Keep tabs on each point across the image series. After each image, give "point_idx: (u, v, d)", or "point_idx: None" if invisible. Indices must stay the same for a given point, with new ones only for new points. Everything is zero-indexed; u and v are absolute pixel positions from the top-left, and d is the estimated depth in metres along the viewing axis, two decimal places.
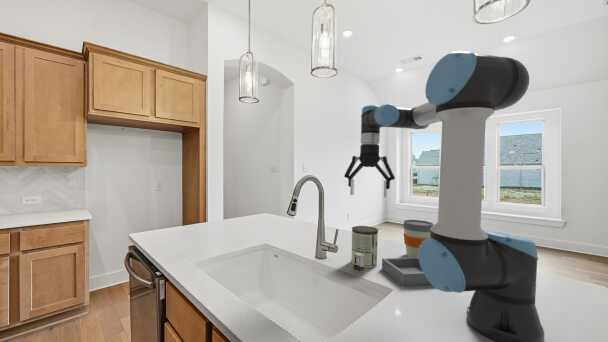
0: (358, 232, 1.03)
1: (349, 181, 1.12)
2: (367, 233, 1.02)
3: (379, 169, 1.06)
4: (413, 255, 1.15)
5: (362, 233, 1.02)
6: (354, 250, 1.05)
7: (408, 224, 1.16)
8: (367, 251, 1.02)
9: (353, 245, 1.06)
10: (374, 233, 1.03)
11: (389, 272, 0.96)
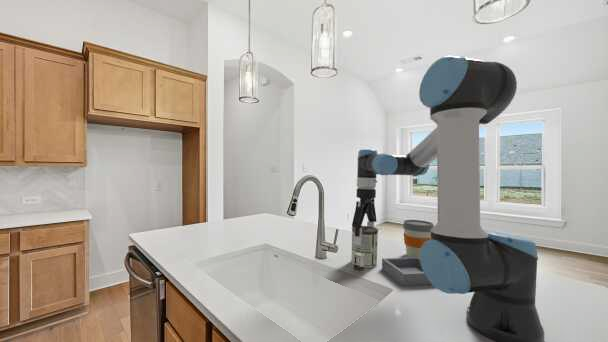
0: None
1: None
2: (367, 233, 1.02)
3: None
4: (413, 255, 1.15)
5: (362, 233, 1.02)
6: (354, 250, 1.05)
7: (408, 224, 1.16)
8: (367, 251, 1.02)
9: (353, 245, 1.06)
10: (374, 233, 1.03)
11: (389, 272, 0.96)
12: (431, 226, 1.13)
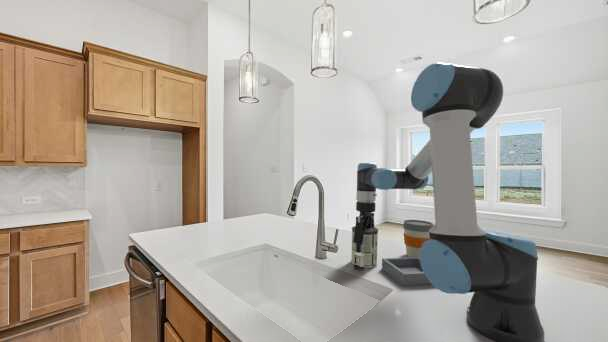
0: None
1: None
2: (367, 233, 1.02)
3: None
4: (413, 255, 1.15)
5: None
6: (354, 250, 1.05)
7: (408, 224, 1.16)
8: (367, 251, 1.02)
9: (353, 245, 1.06)
10: (374, 233, 1.03)
11: (389, 272, 0.96)
12: (431, 226, 1.13)
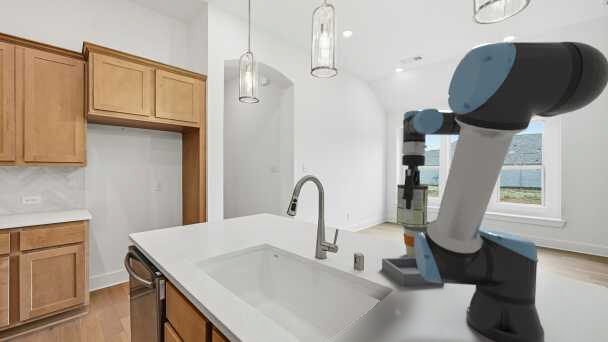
0: None
1: None
2: (418, 188, 0.90)
3: None
4: (413, 255, 1.15)
5: None
6: (402, 208, 0.93)
7: None
8: (417, 208, 0.90)
9: (400, 203, 0.94)
10: (425, 188, 0.91)
11: (389, 272, 0.96)
12: None
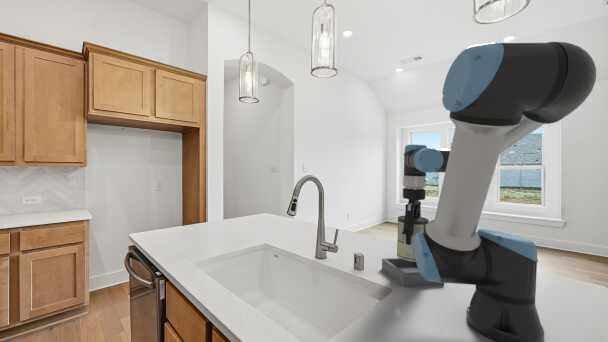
0: None
1: None
2: (418, 223, 0.90)
3: None
4: None
5: None
6: (402, 242, 0.93)
7: None
8: None
9: (400, 237, 0.94)
10: (425, 223, 0.91)
11: (389, 272, 0.96)
12: None
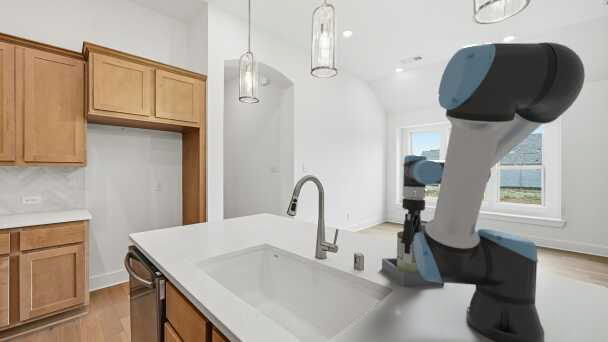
0: None
1: None
2: None
3: None
4: None
5: None
6: (401, 259, 0.93)
7: None
8: None
9: (400, 253, 0.94)
10: None
11: (389, 272, 0.96)
12: None
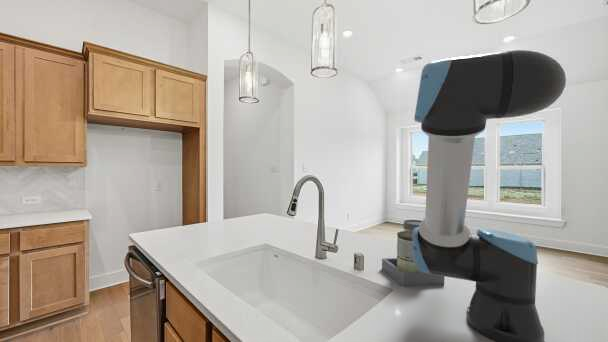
0: (407, 239, 0.91)
1: None
2: None
3: None
4: None
5: None
6: (401, 259, 0.93)
7: (408, 224, 1.16)
8: None
9: (400, 253, 0.94)
10: None
11: (389, 272, 0.96)
12: None
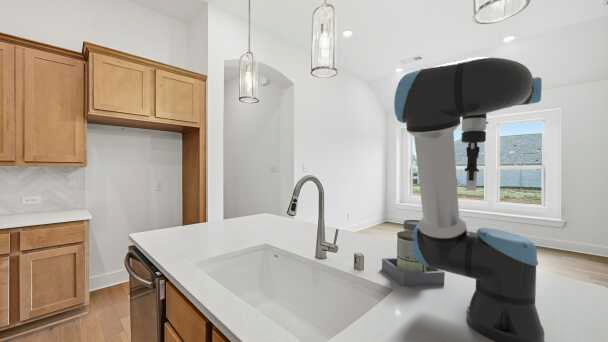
0: (406, 239, 0.91)
1: None
2: None
3: None
4: None
5: (411, 240, 0.91)
6: (401, 259, 0.93)
7: (408, 224, 1.16)
8: None
9: (400, 253, 0.94)
10: None
11: (389, 272, 0.96)
12: None
